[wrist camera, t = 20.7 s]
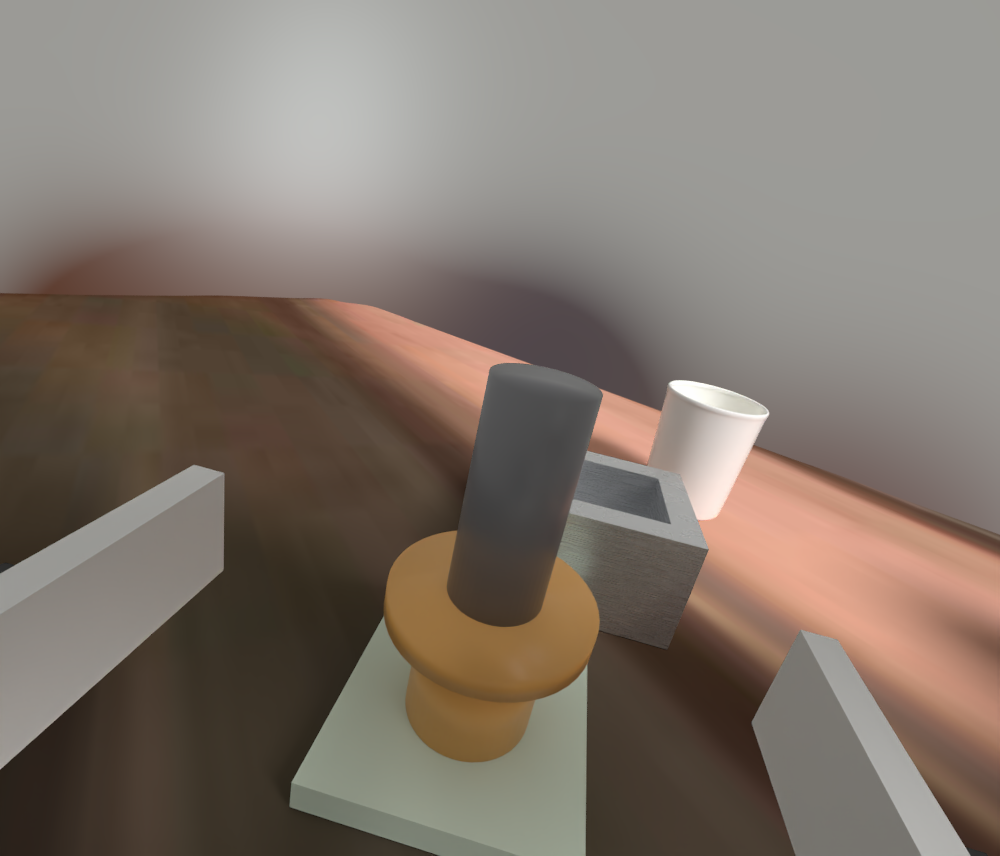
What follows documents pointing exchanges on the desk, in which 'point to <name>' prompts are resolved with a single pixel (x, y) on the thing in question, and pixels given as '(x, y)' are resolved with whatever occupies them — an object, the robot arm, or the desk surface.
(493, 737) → the end cover
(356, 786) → the mat
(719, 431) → the candle holder
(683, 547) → the block
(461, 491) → the desk surface
